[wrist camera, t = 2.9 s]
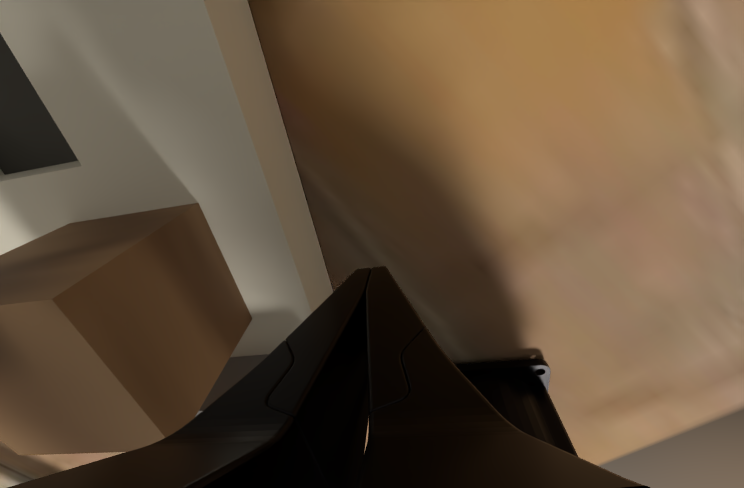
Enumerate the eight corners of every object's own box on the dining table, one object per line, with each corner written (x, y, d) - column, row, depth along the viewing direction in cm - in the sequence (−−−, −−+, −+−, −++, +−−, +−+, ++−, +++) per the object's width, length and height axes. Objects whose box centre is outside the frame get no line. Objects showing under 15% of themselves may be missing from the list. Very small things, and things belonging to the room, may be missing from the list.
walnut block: (198, 202, 10) (51, 299, 6) (252, 318, 13) (175, 450, 8) (69, 223, 11) (-146, 322, 7) (143, 329, 13) (19, 454, 9)
